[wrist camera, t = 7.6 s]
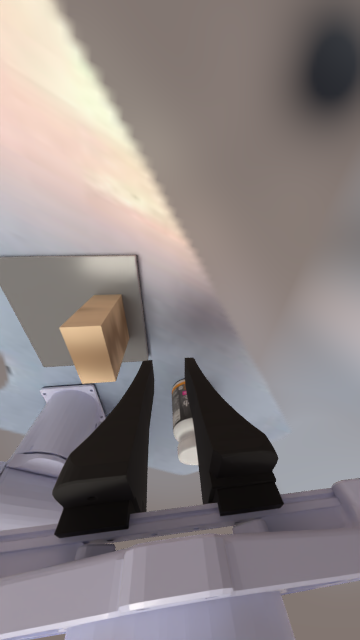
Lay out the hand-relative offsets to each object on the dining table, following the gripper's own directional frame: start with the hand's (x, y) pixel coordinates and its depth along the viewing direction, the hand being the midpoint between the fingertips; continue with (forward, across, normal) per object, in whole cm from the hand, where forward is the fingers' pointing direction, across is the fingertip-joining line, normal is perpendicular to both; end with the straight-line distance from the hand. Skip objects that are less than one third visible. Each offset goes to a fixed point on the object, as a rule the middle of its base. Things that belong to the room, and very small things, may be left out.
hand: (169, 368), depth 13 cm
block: (+9, +6, 0) cm, 11 cm away
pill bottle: (+10, -3, +15) cm, 18 cm away
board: (+10, +10, 0) cm, 14 cm away
